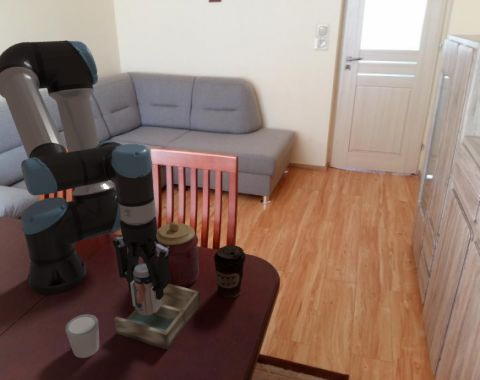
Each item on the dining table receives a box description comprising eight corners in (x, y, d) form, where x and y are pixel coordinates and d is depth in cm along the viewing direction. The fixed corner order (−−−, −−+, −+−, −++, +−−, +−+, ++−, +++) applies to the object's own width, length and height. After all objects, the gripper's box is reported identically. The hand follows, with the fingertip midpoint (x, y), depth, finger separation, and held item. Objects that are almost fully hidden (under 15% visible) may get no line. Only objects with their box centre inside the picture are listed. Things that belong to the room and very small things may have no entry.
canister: (206, 267, 121) (204, 215, 114) (189, 293, 110) (186, 237, 102) (166, 260, 124) (162, 209, 117) (146, 284, 113) (140, 230, 106)
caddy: (116, 333, 96) (114, 318, 94) (154, 292, 110) (152, 279, 108) (167, 350, 91) (166, 334, 89) (199, 305, 105) (199, 291, 103)
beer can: (135, 307, 96) (130, 265, 91) (154, 301, 98) (150, 259, 93) (140, 319, 92) (135, 276, 87) (160, 313, 94) (156, 270, 89)
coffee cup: (241, 303, 106) (241, 262, 101) (210, 299, 107) (209, 258, 102) (247, 283, 114) (248, 244, 108) (219, 280, 115) (218, 241, 110)
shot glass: (75, 338, 94) (70, 314, 91) (105, 336, 95) (101, 313, 92) (66, 361, 88) (60, 336, 85) (98, 359, 88) (93, 335, 86)
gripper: (92, 218, 85) (106, 306, 94) (165, 233, 79) (172, 326, 88) (114, 203, 91) (125, 287, 100) (183, 217, 85) (188, 305, 94)
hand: (147, 305), depth 94 cm, fingers closed on beer can, 5 cm apart
